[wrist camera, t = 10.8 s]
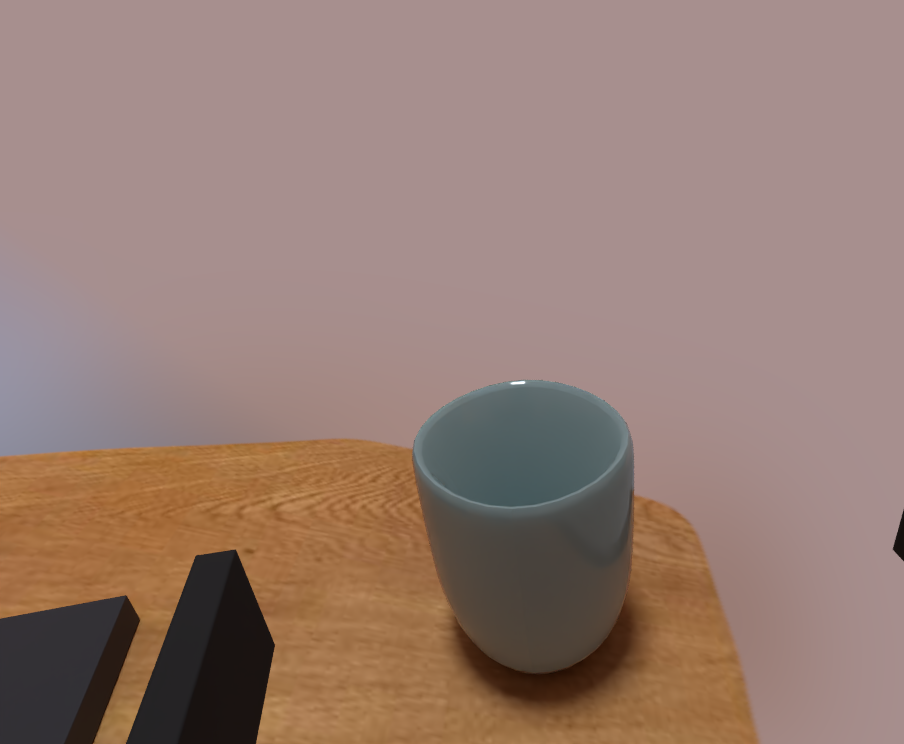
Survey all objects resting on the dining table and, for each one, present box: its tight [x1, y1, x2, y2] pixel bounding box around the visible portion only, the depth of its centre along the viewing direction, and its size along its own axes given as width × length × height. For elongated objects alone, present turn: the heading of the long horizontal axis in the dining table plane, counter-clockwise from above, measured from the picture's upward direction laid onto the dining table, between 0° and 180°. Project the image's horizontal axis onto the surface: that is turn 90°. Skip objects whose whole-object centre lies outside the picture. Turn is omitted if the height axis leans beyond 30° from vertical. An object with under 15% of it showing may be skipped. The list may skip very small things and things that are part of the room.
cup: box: [412, 380, 634, 674], centre depth 26 cm, size 8×8×10 cm
